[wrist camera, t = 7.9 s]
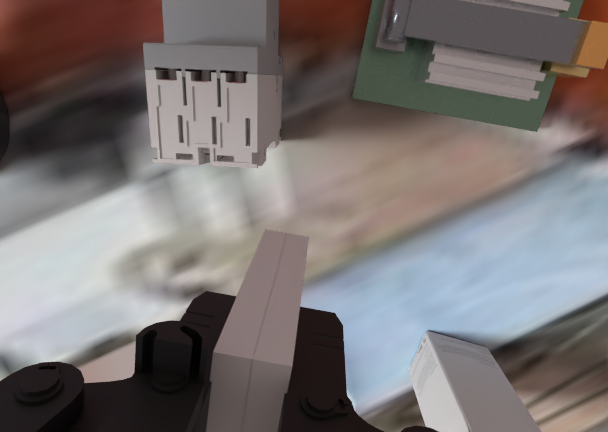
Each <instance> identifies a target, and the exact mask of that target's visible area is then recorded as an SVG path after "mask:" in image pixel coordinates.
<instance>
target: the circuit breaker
mask: <svg viewBox="0 0 608 432" xmlns="http://www.w3.org/2000/svg"><path fill="white" fill-rule="evenodd" d="M162 13H163V28H164V43H143V51H144V64H145V69H150V70H145V76H146V89H147V101H148V114H149V126H150V138H151V148H157V158H154V159H152V163H171V164H191V165H200V164H205V163H210V166H230V167H250V168H258V166H262V165H263V163H264V162H265V161H266V148H267V147H268V148H276V147H277V145H278V144H279V141H281V137H280V129H281V121H282V76H280V75H282V72H283V58H282V57H280V56H278V43H279V0H162ZM162 70H168V71H162ZM187 71H192V72H187ZM215 71H216V73H215ZM212 72H213V73H212ZM222 72H232V73H222ZM235 73H236V74H235ZM246 73H250V74H246ZM261 74H264V75H261Z"/></svg>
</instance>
